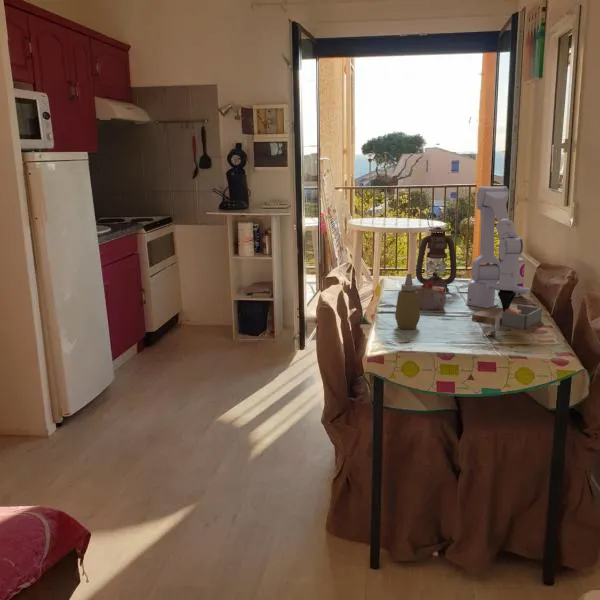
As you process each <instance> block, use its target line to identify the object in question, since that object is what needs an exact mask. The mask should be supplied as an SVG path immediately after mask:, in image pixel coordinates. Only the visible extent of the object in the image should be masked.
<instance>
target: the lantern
mask: <svg viewBox="0 0 600 600" xmlns="http://www.w3.org/2000/svg"><path fill="white" fill-rule="evenodd" d="M437 207H438V208H439V207H440V208H441V207H442V208H443V207H444V208H446V209H447V211H448V223H447V226H446V227H440V226H435V227H431V226H430V223H429V221H427V225H428V228H430V229H428V231H429V232H430V235H426V236H424V237H423V238H422V240H421V243H420V245H419V249H418V250H419V251H418V255H417V262H416V266H415V267H416V268H415V277H416V279H417V281H418V283H420V284H421V285H423V283H424V282H429V283H432V284H433V286H436V287H445V289H446V294H448V293H449V292H450V291H449V290H450V289H449V288H448V285H450V284H452V283H453V282H454V281H455V279H456V276H457V269H458V268H457V259H456V247H455V243H454V242H455V241H454V240H453V238H452V237H450V236H448V235H446V232H448V231H449V230H448V229H447V228H448V227H449V225H450V222H451V221H450V220H451V216H450V215H451V213H450V209H449V208H448V206H445V205H433V206H431V207H430V209H429V211H428V214H427V220H429V219H430V217H429V216H430V213H431V210H432V208H437ZM427 249H429V251H428V252H427V254H426V250H427ZM446 250H448V252H449V253H448V254H447V253H446V252H445V251H446ZM425 254H426V270H425V269H423V263H424V259H425ZM448 255H449V264H450V267H449V268H450V271H449V277H447V278H445V276H446V273H448V272H447V270H446V269H447V265H448V264H447V262H448ZM429 259H430V260H429ZM442 259H444V260H442ZM425 272H426V276H427V277H429V278H425V277H424V276H423V274H425ZM443 278H444V279H443ZM447 292H448V293H447Z"/></svg>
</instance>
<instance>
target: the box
mask: <svg viewBox="0 0 600 600" xmlns="http://www.w3.org/2000/svg"><path fill="white" fill-rule="evenodd" d="M516 307H517V308H516V309H518V310H521V314H522V315H521V314H515V313H509V312H502V320H501V325H500V326H506V327H511V328H516V329H522V330H527V329H529V328H531V327H533V326H535V325H537V324H538V323H540V322H541V321H542V314H543V308H542V307H536V306H531V305H530V306H529V305H524V304H517V305H516ZM534 324H535V325H534ZM532 325H533V326H532Z"/></svg>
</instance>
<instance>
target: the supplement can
mask: <svg viewBox="0 0 600 600" xmlns="http://www.w3.org/2000/svg"><path fill="white" fill-rule="evenodd" d="M525 267H526V262H525V258H523V257H520V256H519V264H518V276H517V286H520V287H524V277H525ZM522 295H523V294H521V293H516V295H515V297H514V298H520V297H521V296H522ZM519 296H520V297H519Z"/></svg>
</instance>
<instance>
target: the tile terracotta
mask: <svg viewBox="0 0 600 600" xmlns="http://www.w3.org/2000/svg"><path fill="white" fill-rule="evenodd" d="M505 312H509V313H515V314H521V310H518V309H517V308H514V307H511V306H510V307H509V308H508V309H506V310H505Z"/></svg>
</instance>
